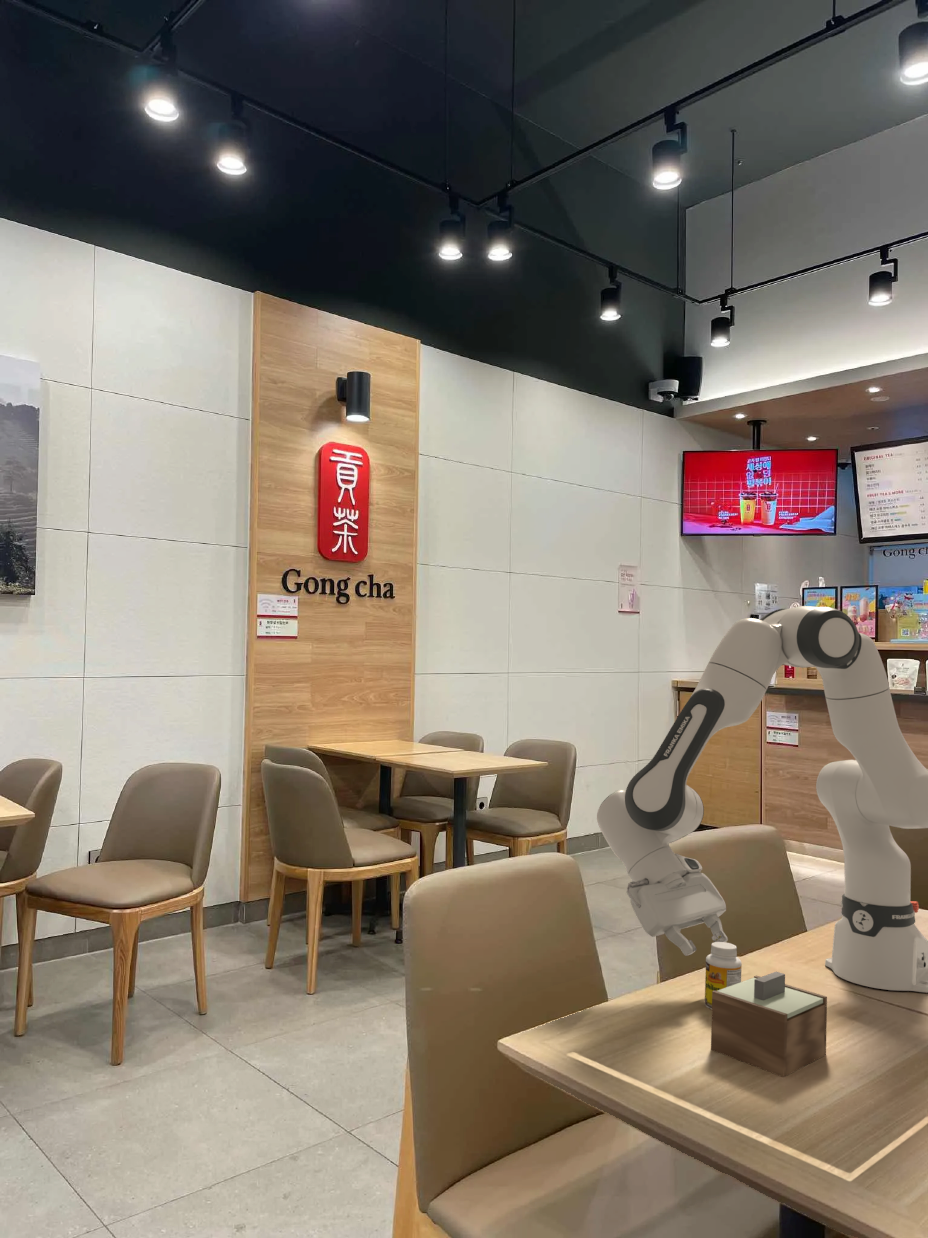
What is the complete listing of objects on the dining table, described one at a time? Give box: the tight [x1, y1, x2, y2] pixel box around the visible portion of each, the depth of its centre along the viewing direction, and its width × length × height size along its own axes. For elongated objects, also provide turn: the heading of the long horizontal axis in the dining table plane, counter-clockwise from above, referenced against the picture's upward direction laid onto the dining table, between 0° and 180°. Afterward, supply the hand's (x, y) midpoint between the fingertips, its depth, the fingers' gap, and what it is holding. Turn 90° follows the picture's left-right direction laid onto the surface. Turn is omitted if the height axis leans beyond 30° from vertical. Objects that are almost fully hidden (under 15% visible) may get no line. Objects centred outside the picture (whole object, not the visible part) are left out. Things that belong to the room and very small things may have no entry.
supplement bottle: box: [704, 941, 743, 1010], centre depth 146 cm, size 6×6×10 cm
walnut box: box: [710, 975, 828, 1078], centre depth 128 cm, size 12×11×9 cm
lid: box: [718, 971, 823, 1019], centre depth 129 cm, size 10×11×3 cm
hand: (707, 948), depth 149 cm, fingers open, 8 cm apart
